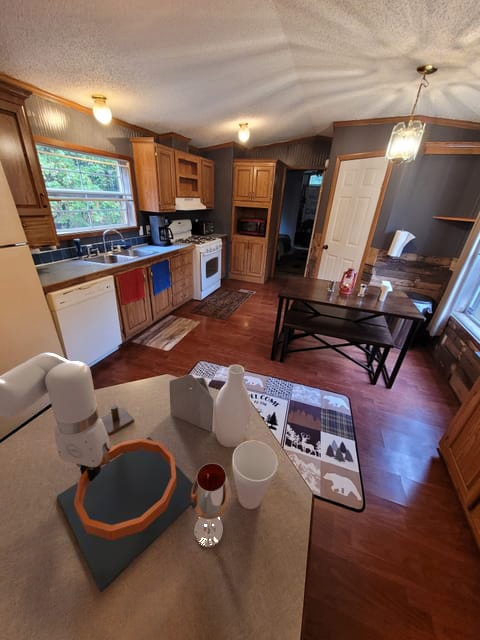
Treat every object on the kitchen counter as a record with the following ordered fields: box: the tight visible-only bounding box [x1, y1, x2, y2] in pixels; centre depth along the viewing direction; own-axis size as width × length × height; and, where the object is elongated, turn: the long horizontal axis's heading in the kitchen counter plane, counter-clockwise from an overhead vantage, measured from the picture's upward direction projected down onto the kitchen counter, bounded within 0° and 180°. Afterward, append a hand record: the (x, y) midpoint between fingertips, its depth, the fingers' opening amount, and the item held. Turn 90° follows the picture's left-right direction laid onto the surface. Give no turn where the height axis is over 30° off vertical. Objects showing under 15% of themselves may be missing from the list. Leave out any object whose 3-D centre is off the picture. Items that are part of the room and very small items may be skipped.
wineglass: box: [190, 462, 232, 548], centre depth 52 cm, size 8×8×18 cm
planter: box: [168, 373, 215, 433], centre depth 83 cm, size 16×8×19 cm, turn 65°
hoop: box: [74, 437, 177, 540], centre depth 59 cm, size 21×21×3 cm
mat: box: [56, 436, 193, 593], centre depth 61 cm, size 24×24×1 cm
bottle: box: [213, 364, 252, 448], centre depth 75 cm, size 11×11×25 cm
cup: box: [231, 439, 279, 510], centre depth 61 cm, size 10×10×14 cm
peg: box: [99, 404, 135, 436], centre depth 80 cm, size 8×8×6 cm
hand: (92, 474), depth 61 cm, fingers closed on hoop, 1 cm apart
